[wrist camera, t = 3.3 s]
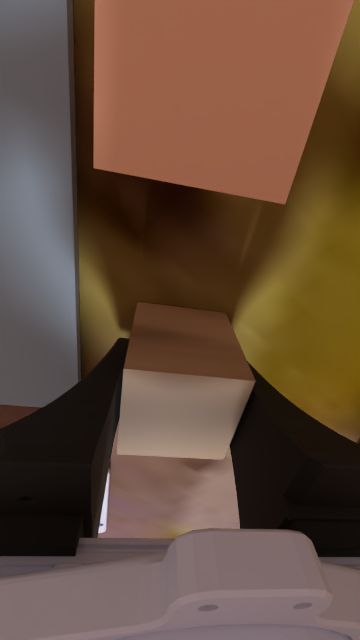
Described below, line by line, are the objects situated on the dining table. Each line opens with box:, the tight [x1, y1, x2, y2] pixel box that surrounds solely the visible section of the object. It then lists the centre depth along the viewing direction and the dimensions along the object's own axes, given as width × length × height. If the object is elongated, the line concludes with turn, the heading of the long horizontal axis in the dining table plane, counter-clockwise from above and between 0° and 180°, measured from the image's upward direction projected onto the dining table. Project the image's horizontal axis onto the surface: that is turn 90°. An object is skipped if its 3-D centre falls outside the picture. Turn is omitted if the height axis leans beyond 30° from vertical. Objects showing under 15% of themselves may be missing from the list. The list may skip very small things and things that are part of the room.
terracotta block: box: [94, 0, 354, 204], centre depth 7 cm, size 4×4×5 cm
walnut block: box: [117, 302, 255, 460], centre depth 12 cm, size 4×4×5 cm
